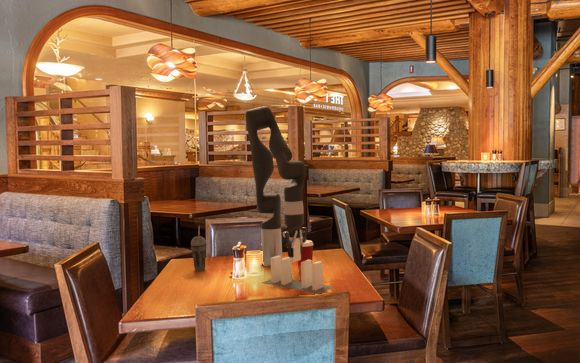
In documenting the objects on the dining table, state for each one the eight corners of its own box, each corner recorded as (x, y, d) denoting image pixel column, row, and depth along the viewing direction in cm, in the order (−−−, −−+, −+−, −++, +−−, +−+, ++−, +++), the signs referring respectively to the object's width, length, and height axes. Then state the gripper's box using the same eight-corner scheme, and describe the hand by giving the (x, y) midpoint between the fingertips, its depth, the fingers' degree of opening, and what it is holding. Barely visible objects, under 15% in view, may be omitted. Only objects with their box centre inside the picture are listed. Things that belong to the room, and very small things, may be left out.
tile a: (271, 282, 205) (270, 257, 204) (279, 279, 209) (278, 255, 208) (274, 283, 204) (273, 258, 203) (282, 280, 208) (281, 255, 207)
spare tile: (300, 259, 201) (300, 234, 200) (293, 262, 197) (292, 236, 196) (297, 259, 202) (296, 234, 201) (289, 261, 198) (289, 236, 197)
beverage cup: (188, 271, 230) (186, 227, 229) (197, 267, 237) (195, 224, 235) (202, 272, 228) (200, 227, 226) (211, 268, 234) (208, 225, 233)
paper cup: (317, 272, 221) (316, 240, 219) (310, 276, 214) (309, 243, 212) (300, 271, 224) (299, 239, 223) (293, 275, 217) (292, 242, 216)
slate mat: (261, 284, 205) (261, 282, 205) (276, 278, 213) (276, 277, 213) (319, 295, 188) (319, 293, 188) (333, 288, 196) (333, 286, 196)
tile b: (281, 284, 202) (280, 259, 201) (288, 281, 206) (287, 256, 205) (284, 284, 201) (283, 259, 200) (291, 281, 205) (291, 257, 204)
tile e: (312, 289, 193) (311, 263, 192) (319, 286, 197) (319, 261, 196) (315, 290, 192) (315, 264, 191) (323, 287, 196) (322, 261, 195)
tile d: (301, 287, 196) (300, 262, 195) (309, 284, 200) (308, 259, 199) (305, 288, 195) (304, 262, 194) (312, 285, 199) (311, 260, 198)
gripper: (290, 215, 190) (291, 260, 191) (312, 210, 202) (313, 253, 203) (274, 214, 195) (276, 258, 196) (297, 209, 206) (298, 251, 207)
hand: (295, 255), depth 199 cm, fingers closed on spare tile, 5 cm apart
